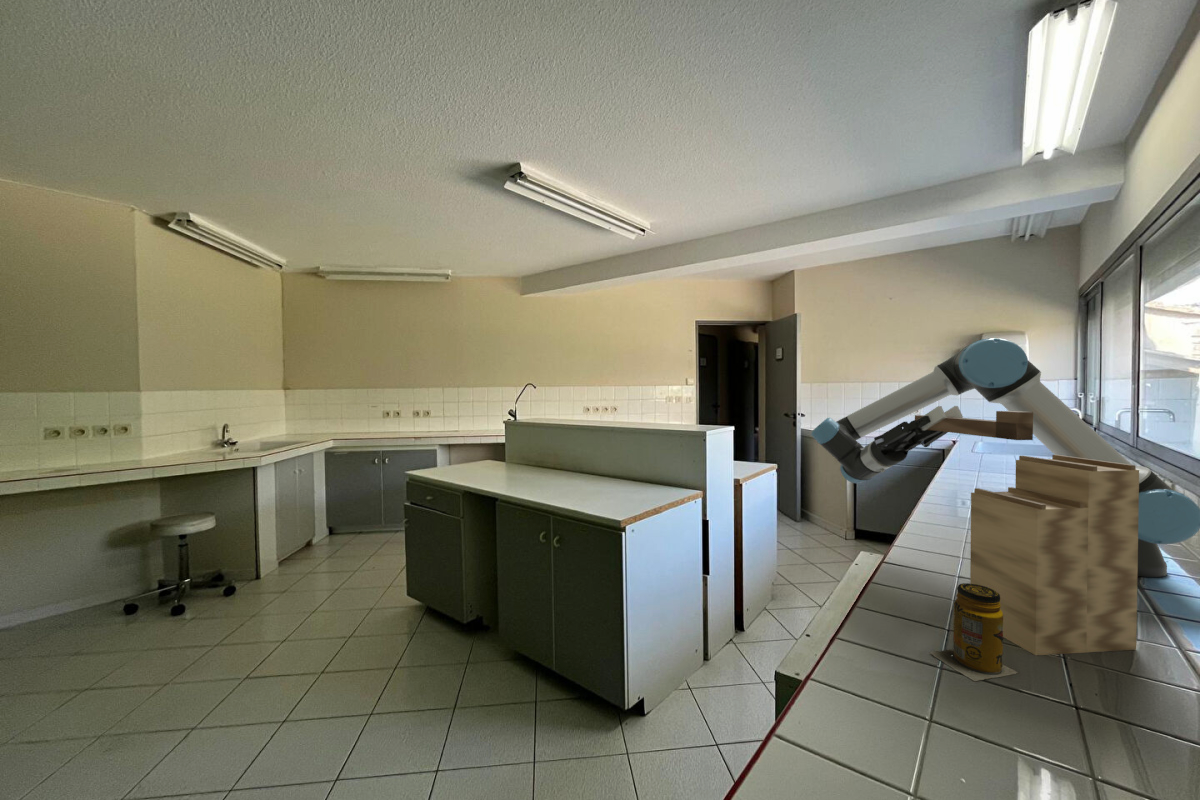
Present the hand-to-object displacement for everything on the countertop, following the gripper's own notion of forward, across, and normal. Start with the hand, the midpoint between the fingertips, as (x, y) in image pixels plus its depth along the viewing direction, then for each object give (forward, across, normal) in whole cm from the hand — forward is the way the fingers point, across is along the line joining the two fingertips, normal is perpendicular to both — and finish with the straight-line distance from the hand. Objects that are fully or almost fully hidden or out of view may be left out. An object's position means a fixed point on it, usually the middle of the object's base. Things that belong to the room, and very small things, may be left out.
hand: (950, 411), depth 96 cm
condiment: (+2, +17, -46) cm, 49 cm away
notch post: (-4, -4, -42) cm, 42 cm away
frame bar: (+1, 0, -6) cm, 6 cm away
